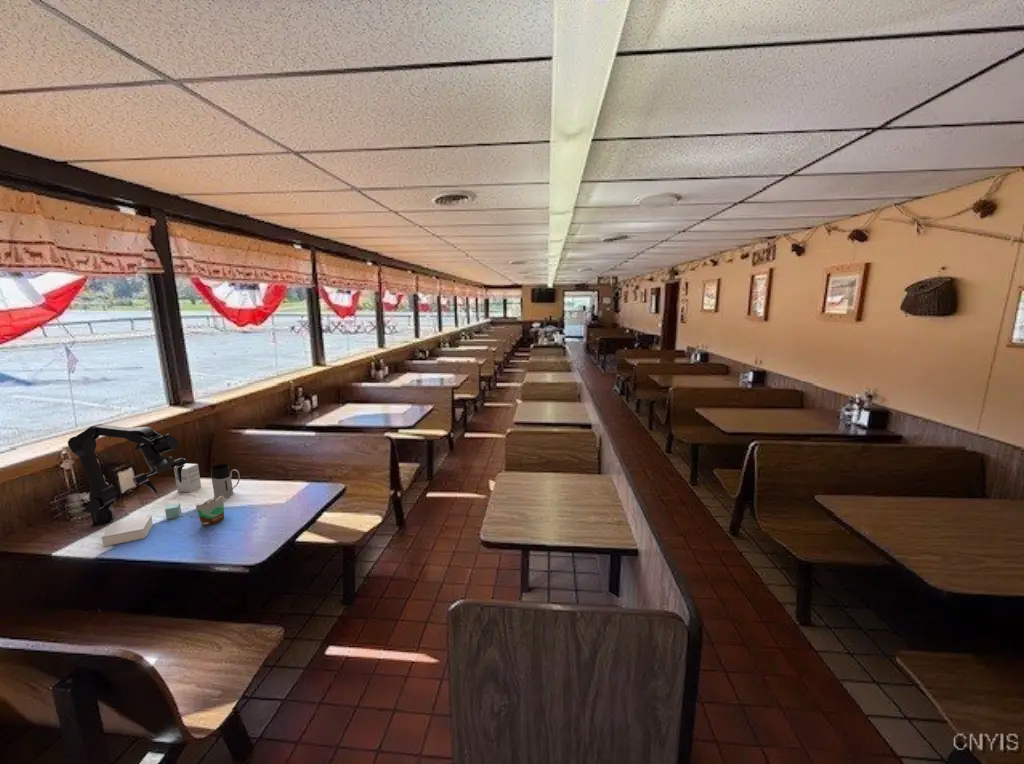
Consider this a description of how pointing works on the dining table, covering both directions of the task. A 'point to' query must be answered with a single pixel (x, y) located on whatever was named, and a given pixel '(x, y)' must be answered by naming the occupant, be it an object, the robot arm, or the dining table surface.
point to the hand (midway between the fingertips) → (169, 488)
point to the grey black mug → (222, 480)
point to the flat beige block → (127, 530)
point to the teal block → (173, 510)
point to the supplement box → (188, 478)
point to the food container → (211, 511)
